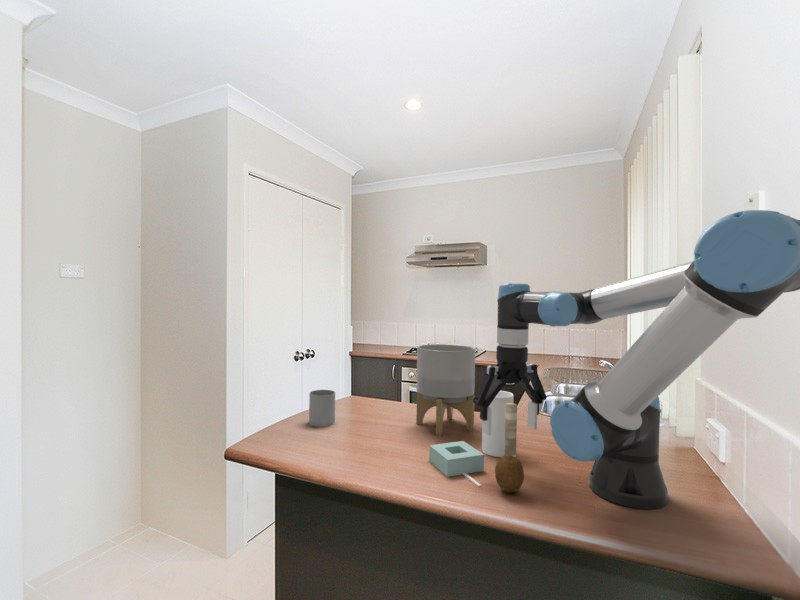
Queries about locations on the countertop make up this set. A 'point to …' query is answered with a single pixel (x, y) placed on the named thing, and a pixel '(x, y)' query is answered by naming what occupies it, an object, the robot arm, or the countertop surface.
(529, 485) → the countertop surface
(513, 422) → the beige wooden dowel
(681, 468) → the countertop surface
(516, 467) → the fruit
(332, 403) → the cup
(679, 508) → the countertop surface
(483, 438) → the cup
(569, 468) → the countertop surface
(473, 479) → the cream stick
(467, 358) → the planter
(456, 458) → the bead
